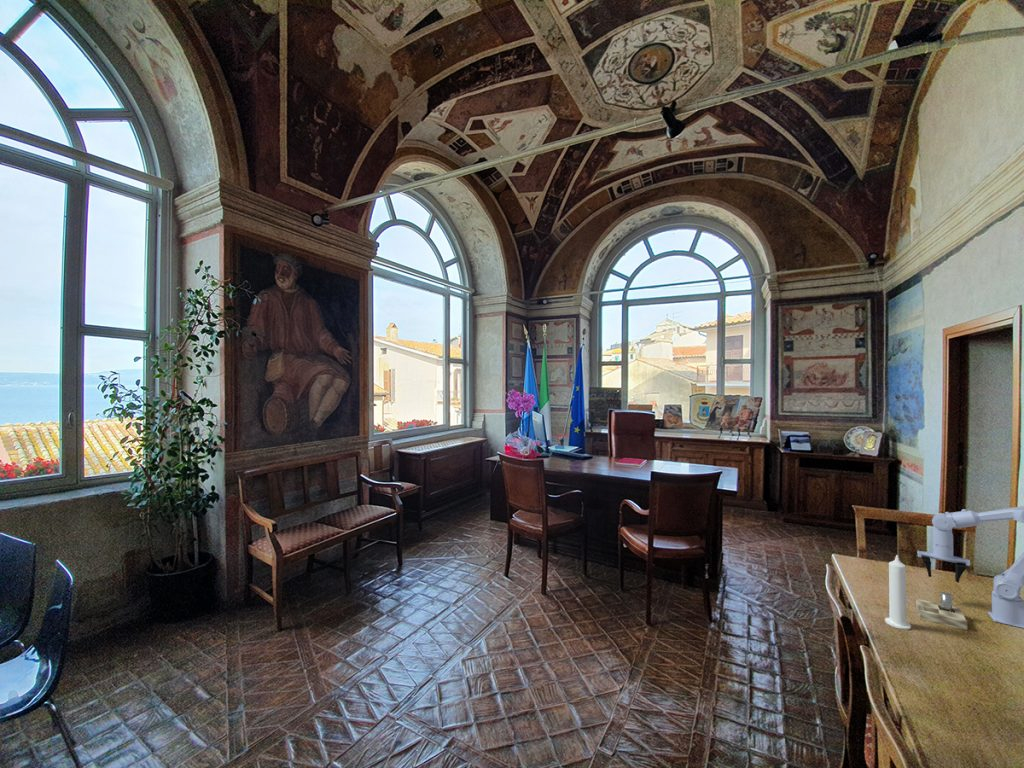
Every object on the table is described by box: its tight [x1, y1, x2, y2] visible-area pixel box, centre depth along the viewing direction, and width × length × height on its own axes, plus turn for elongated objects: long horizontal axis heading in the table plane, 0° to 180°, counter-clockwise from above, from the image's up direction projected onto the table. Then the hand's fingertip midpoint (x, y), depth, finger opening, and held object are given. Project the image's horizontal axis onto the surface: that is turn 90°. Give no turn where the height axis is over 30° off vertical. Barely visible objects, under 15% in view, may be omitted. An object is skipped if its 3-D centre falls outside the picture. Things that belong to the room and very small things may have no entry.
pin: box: [940, 591, 953, 612], centre depth 158 cm, size 3×3×8 cm
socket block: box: [915, 598, 968, 631], centre depth 157 cm, size 12×12×3 cm
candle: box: [884, 554, 912, 631], centre depth 153 cm, size 7×7×25 cm
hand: (943, 578), depth 167 cm, fingers open, 7 cm apart
